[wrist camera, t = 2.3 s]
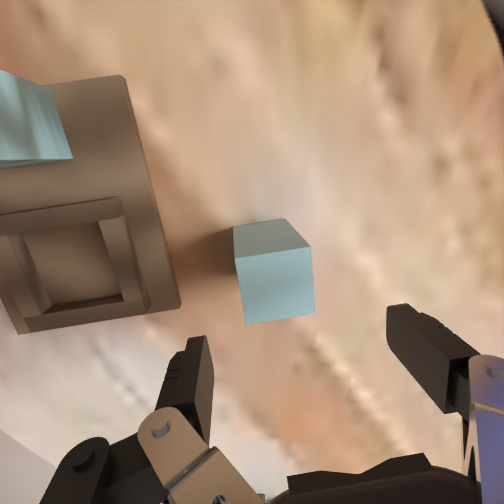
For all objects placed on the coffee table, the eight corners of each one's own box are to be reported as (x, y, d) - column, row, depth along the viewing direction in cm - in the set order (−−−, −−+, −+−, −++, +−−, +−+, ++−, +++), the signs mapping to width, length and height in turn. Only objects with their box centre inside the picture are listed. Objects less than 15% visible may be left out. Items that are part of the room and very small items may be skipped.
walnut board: (-78, 106, 20) (-314, 68, 11) (125, 78, 20) (47, 19, 11) (26, 328, 25) (-77, 414, 17) (181, 302, 26) (158, 374, 17)
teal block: (232, 226, 24) (234, 258, 16) (285, 218, 24) (310, 246, 17) (240, 275, 25) (245, 324, 18) (290, 267, 26) (315, 313, 18)
